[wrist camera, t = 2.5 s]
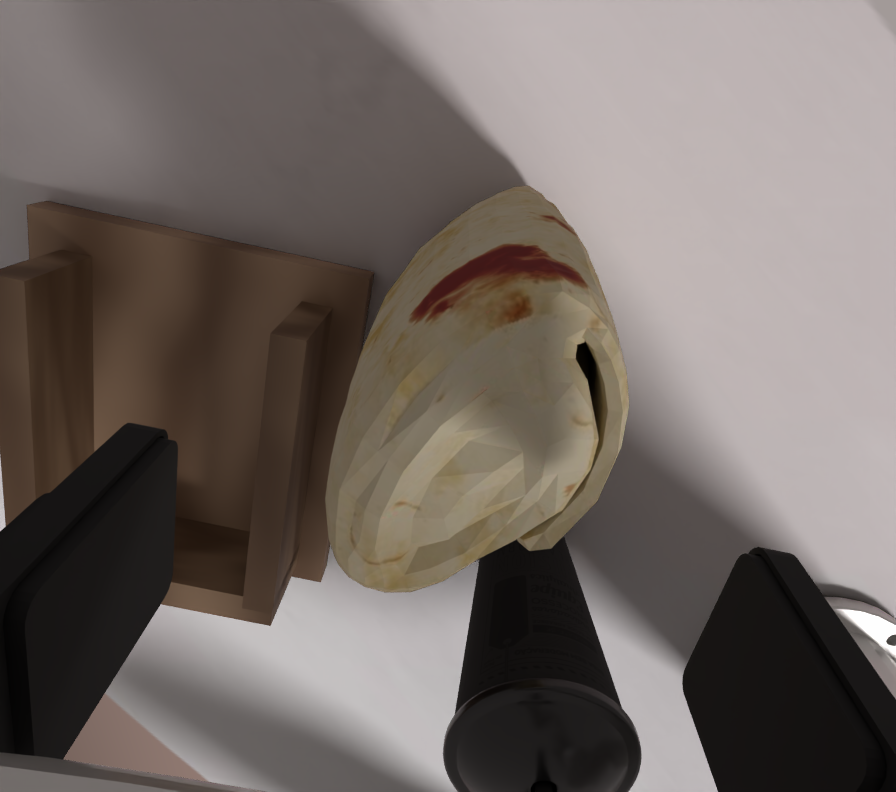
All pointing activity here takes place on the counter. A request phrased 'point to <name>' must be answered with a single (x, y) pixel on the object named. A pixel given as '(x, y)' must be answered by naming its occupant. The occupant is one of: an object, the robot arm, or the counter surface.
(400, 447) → the food model
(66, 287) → the dock
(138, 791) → the robot arm
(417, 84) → the counter surface
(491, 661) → the drinking cup
